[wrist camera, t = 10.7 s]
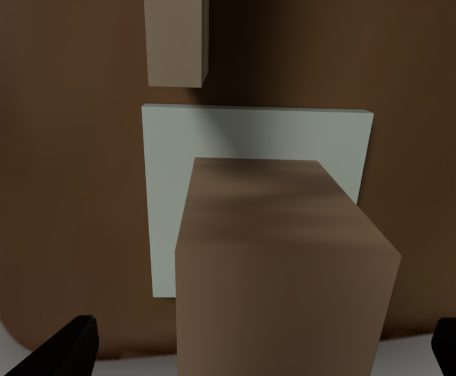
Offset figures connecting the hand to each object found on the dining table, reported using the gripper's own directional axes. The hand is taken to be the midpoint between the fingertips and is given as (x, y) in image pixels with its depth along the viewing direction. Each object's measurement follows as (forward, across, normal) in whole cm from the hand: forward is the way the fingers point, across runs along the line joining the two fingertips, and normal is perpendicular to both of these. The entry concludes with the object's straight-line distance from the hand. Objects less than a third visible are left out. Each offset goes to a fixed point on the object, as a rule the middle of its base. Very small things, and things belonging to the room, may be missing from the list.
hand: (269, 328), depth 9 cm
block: (+6, 0, 0) cm, 7 cm away
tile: (+7, 0, 0) cm, 7 cm away
